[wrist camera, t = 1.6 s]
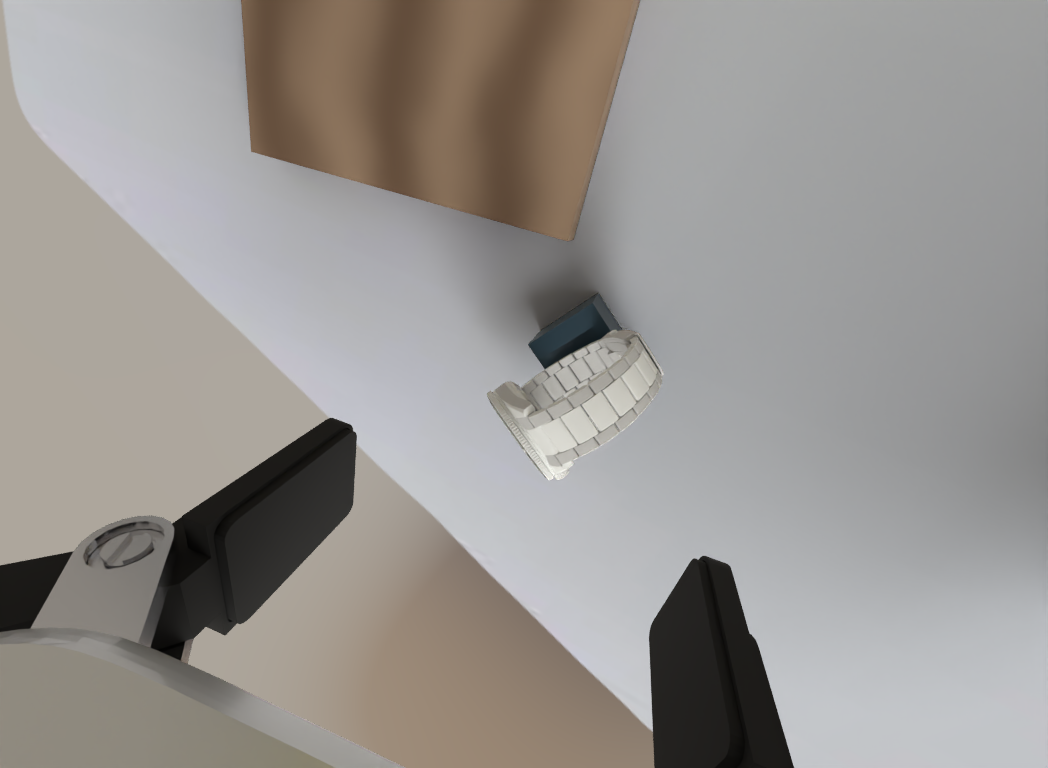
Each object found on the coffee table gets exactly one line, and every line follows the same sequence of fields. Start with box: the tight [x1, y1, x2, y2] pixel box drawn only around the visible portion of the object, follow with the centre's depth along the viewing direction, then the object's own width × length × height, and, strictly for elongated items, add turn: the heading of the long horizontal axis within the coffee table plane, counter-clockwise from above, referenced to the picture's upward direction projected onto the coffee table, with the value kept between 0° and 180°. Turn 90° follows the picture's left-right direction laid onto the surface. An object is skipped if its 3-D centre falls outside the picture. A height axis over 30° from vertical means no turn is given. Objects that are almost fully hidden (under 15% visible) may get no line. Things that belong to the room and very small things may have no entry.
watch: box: [487, 293, 664, 480], centre depth 20 cm, size 6×8×11 cm
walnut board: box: [241, 0, 640, 241], centre depth 19 cm, size 20×16×2 cm
